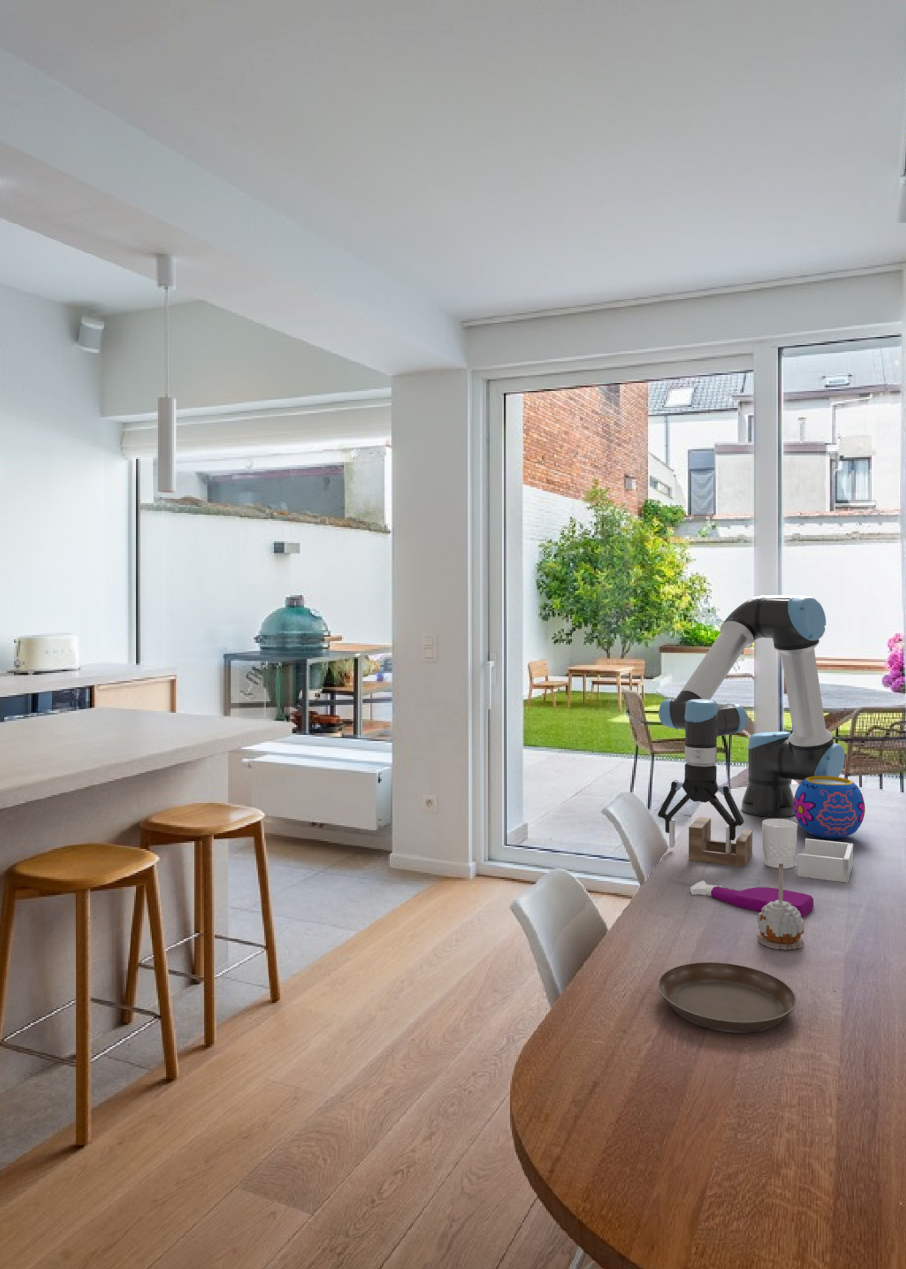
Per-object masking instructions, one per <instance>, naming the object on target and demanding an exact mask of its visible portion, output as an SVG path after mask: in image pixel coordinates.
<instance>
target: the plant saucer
mask: <svg viewBox="0 0 906 1269" xmlns="http://www.w3.org/2000/svg"><path fill="white" fill-rule="evenodd" d="M657 987H658V990H659V993H660V994H661V996H662V998H663V999H664V1001H665V1002H666V1003H667V1004H668V1006H669V1007H670V1008H671V1009H672V1010H673V1011H674V1012H675V1013H677V1014H678V1015H679V1016H680V1017H682V1018H683V1019H685V1020H686V1021H688V1022H690V1023H693V1024H695V1025H697V1026H700V1027H701V1028H705V1029H710V1030H713V1031H716V1032H717V1031H719V1032H724V1033H734V1034H736V1033H737V1034H739V1033H740V1034H743V1033H744V1034H748V1033H757V1032H763V1031H765V1030H769V1029H771V1028H773V1027H776V1025H779V1024H780V1023H782V1022H783V1021H784V1020H786V1019H787V1017H788V1016H790V1014H791V1013H792V1012H793V1010H795V1009H794V1008H795V1007H796V1005H797V995H796V993H795V991H794V990H793V989H792V988H791V987H790V986H789V985H788V984H787V983H786V982H784V981H782V979H779V978H778V977H776V976H774V975H772V974H770V973H767V972H764V971H762V970H760V969H757V968H752V967H748V966H743V965H740V964H734V963H726V962H715V961H714V962H712V961H711V962H708V961H707V962H706V961H705V962H692V963H686V964H682V965H678V966H675V967H672V968H670V969H668V970H666V971H665V972H664V973H663V974H662V975H661V976H660V977H659V979H658V980H657Z"/></svg>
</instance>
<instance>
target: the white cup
mask: <svg viewBox="0 0 906 1269" xmlns="http://www.w3.org/2000/svg"><path fill="white" fill-rule="evenodd" d="M761 825H762V826H761V827H762V830H761V831H762V848H763V849H762V850H763V860H764V862H763V863H764V865H765V866H767V867H770V868H774V869H779V864H780V863H782V864H783V870H785V869H787V870H788V869H792V868H794V867H795V864H796V853H797V840H798V825H799V823H798V822H795V821H794V820H791V819H790V820H789V819H784V818H767V819H766V818H765V819H763V820H762V822H761Z"/></svg>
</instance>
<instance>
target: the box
mask: <svg viewBox="0 0 906 1269" xmlns="http://www.w3.org/2000/svg"><path fill="white" fill-rule="evenodd" d="M853 861H854V843H851V842H841V841H833V840H824V839H814V838H807V837H806V838H805V839H804V853H800V852H799V853H798V854H797V877H801V878H808V877H811V878H810V879H819V880H824V879H825V880H824V881H833V882H843V883H849V881H850V876H851V874H852V868H853V865H854V862H853Z"/></svg>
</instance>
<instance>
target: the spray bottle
mask: <svg viewBox="0 0 906 1269" xmlns="http://www.w3.org/2000/svg"><path fill="white" fill-rule="evenodd" d="M689 891H690V893H691V895H692V896H693V895H703V896H708V897H712V898H713V899H716V900H719V901H721V902H724V903H727V904H730V905H733V907H734V906H735V907H738V908H742V909H744V908H745V910H748V909H749V911H752V910H754V911H753V912H756V911H757V913H760V912H762V908H763V907H764V906H766V905H767V904H768V903H770V902H775V901H776V900H779V888H775V887H768V886H767V887H766V886H758V887H751V888H746V889H745V888H744V889H741V890H737V889H733V888H731V889H730V888H728V887H723V885H714V884H707V883H706V881H705V880H701V881H698V882H695V883H694V884H693V885H692V886H690V887H689ZM814 899H815V898H813V896H812V895H811V894H807V893H804V892H800V891H799V892H798V891H792V890H788V889H783V901H785V902H789V903H790V904H791V906H795V908H797V910H798V911H800V914H801V918H803V919H804V916H805V917H806V916H807V915H808V914H809V913H811V912H812V910H813V908H814V904H815V902H814Z"/></svg>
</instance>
